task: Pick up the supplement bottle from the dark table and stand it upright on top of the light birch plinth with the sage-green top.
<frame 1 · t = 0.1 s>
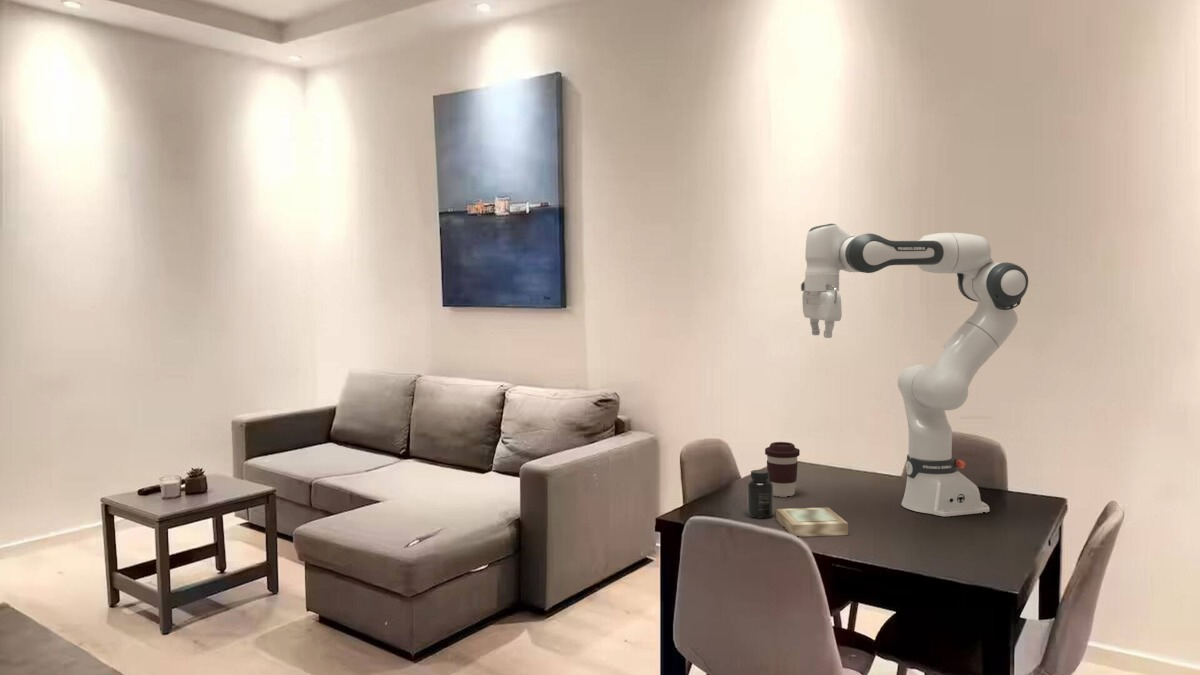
hand: (821, 336, 222), 48 cm above the table, tool pointing down, fingers open, 8 cm apart
supplement bottle: (760, 515, 222), on the table
coffee cup: (782, 494, 243), on the table
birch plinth: (811, 527, 211), on the table
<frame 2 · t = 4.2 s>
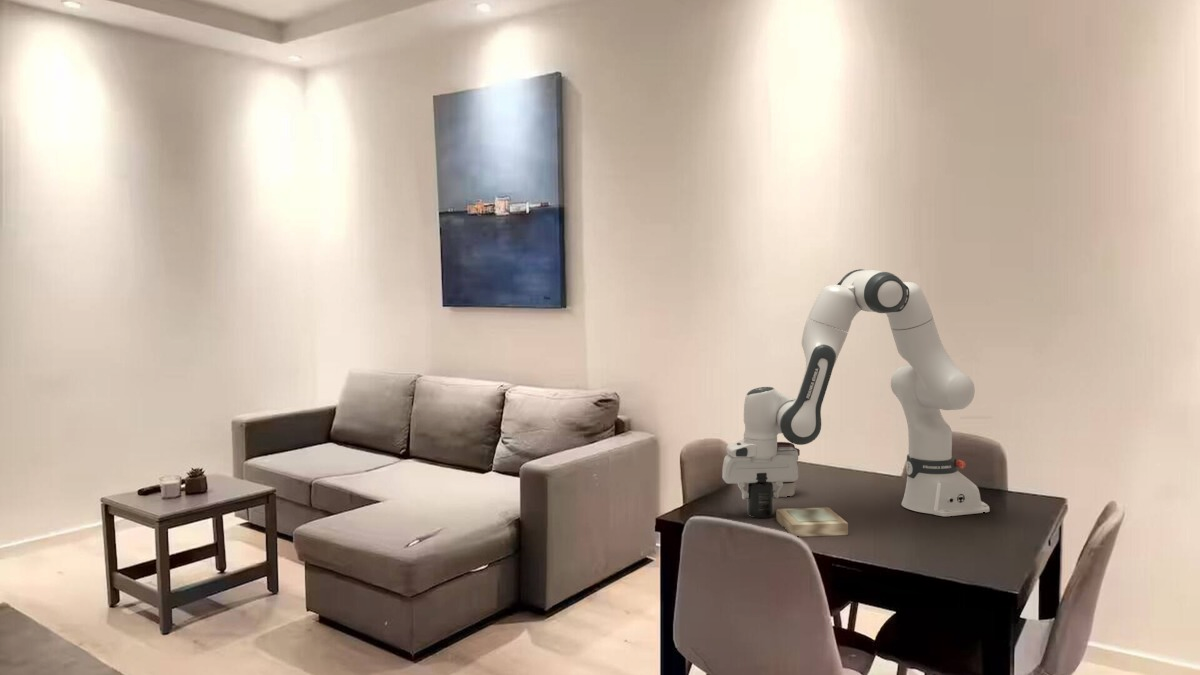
hand: (760, 498, 222), 5 cm above the table, tool pointing down, fingers closed on supplement bottle, 7 cm apart
supplement bottle: (760, 515, 222), on the table, touching gripper
everything else where it was.
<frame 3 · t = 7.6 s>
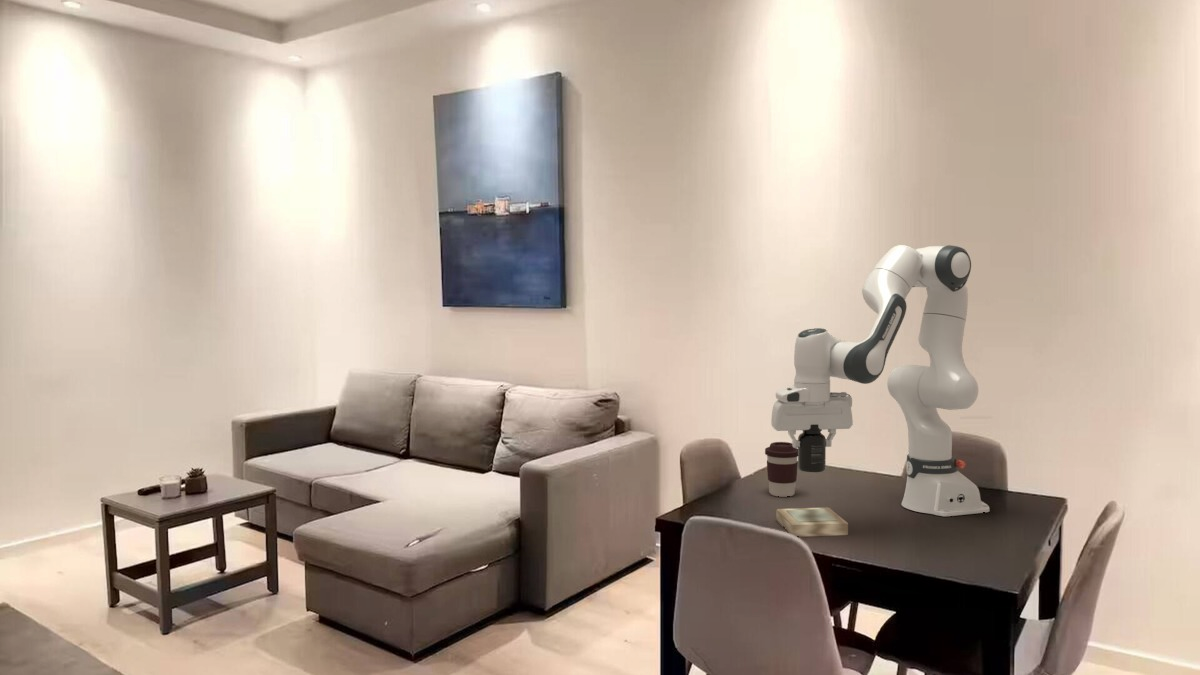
hand: (811, 446, 210), 21 cm above the table, tool pointing down, fingers closed on supplement bottle, 7 cm apart
supplement bottle: (811, 470, 210), point 15 cm above the table, touching gripper
everything else where it was.
when the fingers open (9 cm above the table, at t = 10.9 s): supplement bottle stays where it is, resting on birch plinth.
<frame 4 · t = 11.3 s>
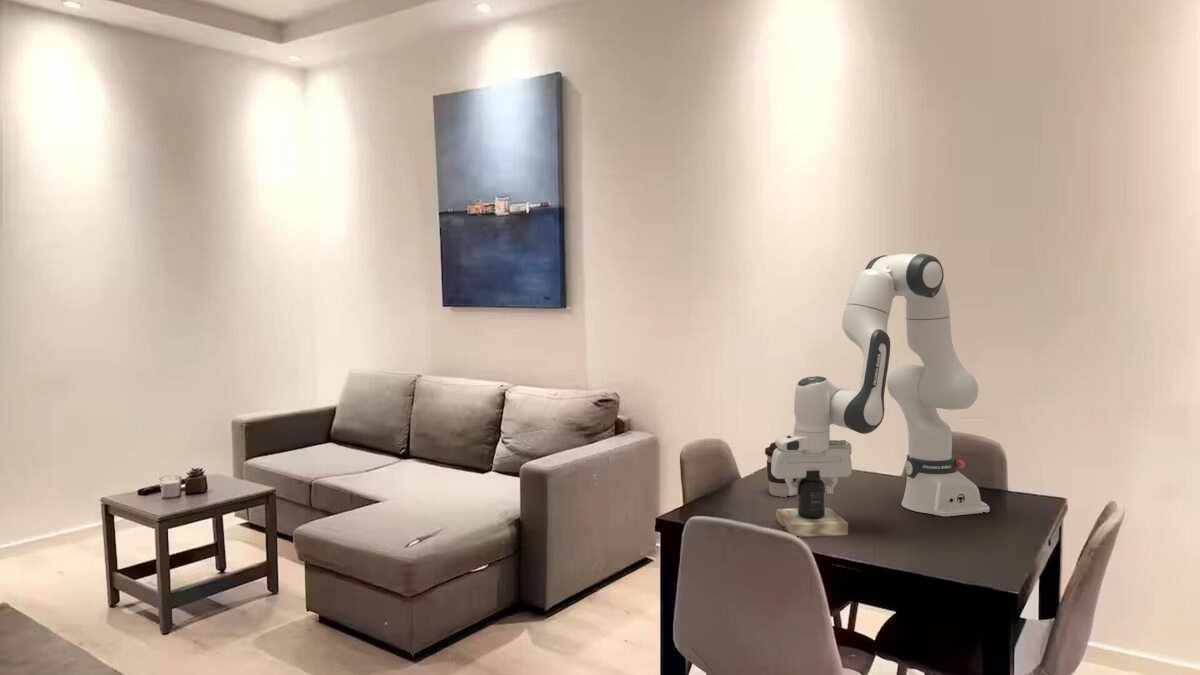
hand: (811, 494, 211), 9 cm above the table, tool pointing down, fingers open, 8 cm apart
supplement bottle: (810, 516, 211), point 3 cm above the table, touching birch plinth
everything else where it was.
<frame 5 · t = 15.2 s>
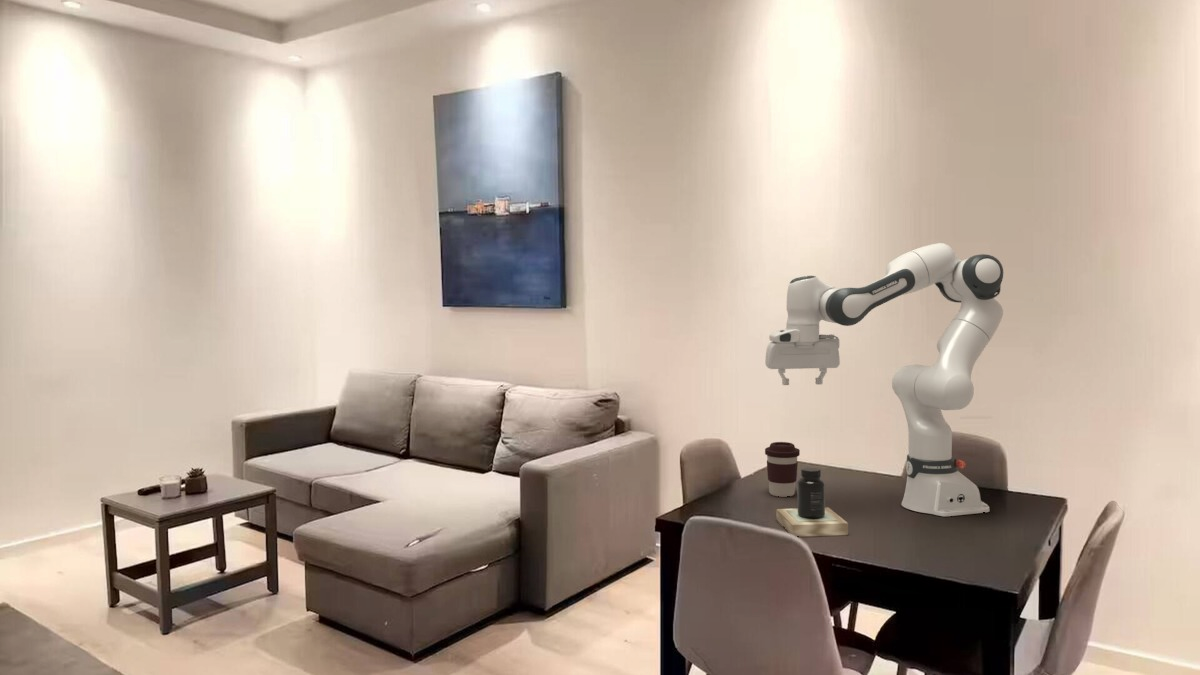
hand: (802, 384, 229), 34 cm above the table, tool pointing down, fingers open, 8 cm apart
nothing on the table moved.
at the end: supplement bottle inside the target area on the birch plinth (0.3 cm from its centre), point 3.0 cm above the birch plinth's base; supplement bottle tilted 0°; the gripper is holding nothing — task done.
